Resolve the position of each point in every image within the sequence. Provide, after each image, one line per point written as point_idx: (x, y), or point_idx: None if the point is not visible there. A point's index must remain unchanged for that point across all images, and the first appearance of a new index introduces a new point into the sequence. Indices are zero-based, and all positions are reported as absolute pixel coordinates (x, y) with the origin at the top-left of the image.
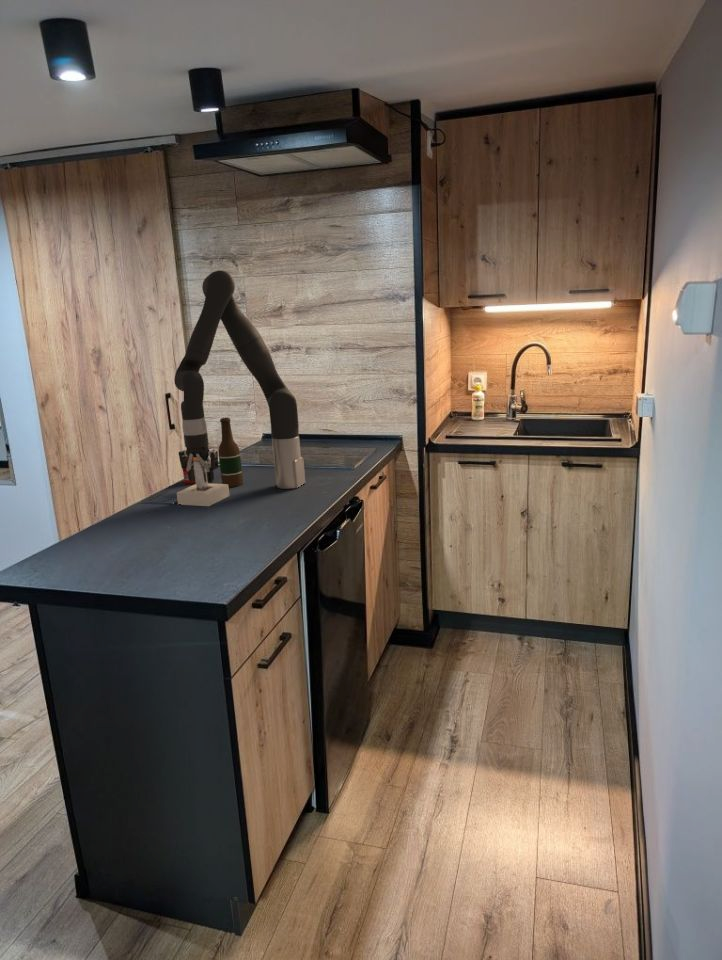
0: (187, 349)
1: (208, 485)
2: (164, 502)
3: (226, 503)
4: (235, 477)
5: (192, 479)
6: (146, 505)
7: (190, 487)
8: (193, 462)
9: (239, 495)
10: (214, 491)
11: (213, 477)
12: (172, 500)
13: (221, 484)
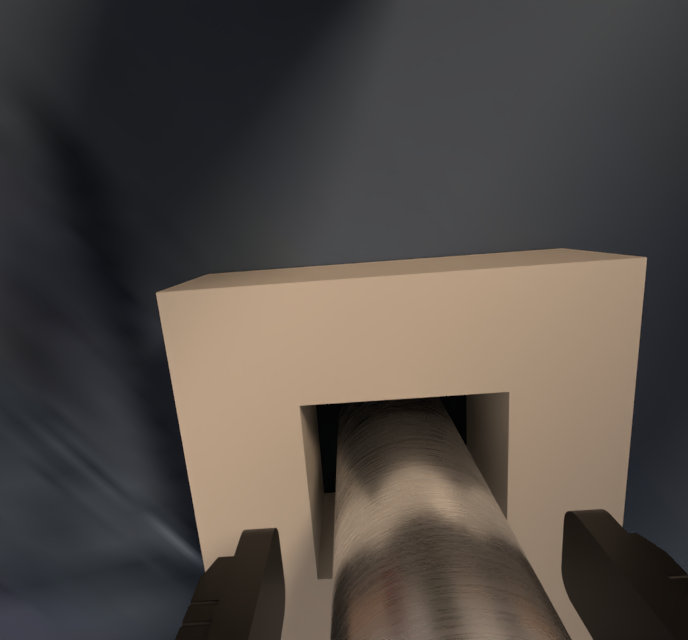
0: None
1: (481, 474)
2: (88, 549)
3: (658, 454)
4: None
5: (277, 615)
6: (14, 636)
7: (222, 490)
8: None
9: (661, 207)
10: None
11: (685, 587)
12: (107, 492)
13: (550, 285)
